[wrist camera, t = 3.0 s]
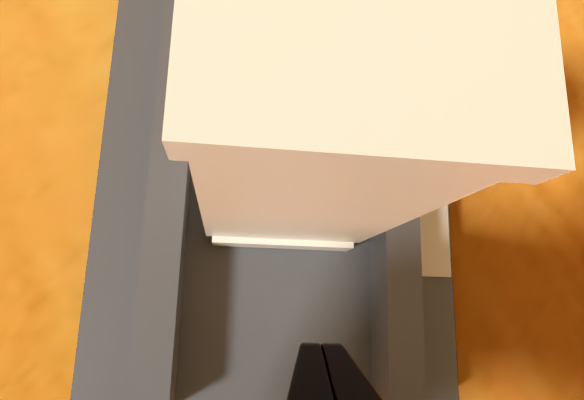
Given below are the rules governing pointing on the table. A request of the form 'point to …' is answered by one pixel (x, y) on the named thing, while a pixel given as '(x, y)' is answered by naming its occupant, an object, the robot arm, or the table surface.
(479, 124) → the tab
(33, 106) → the table surface
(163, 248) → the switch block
